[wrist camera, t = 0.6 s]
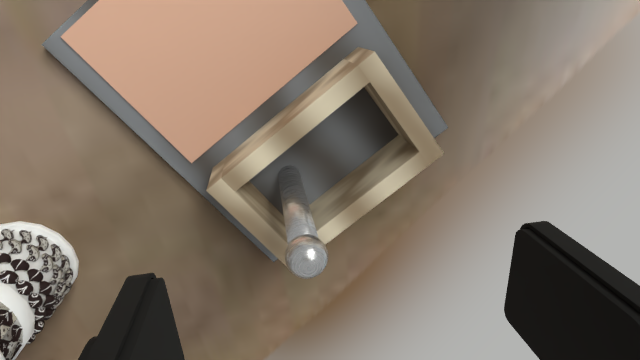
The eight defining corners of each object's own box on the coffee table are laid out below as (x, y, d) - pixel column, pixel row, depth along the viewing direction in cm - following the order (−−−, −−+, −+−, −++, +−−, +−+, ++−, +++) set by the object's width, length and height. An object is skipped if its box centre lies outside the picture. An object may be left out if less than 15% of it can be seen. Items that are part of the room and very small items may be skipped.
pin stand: (258, -157, 27) (261, -349, 13) (443, 124, 37) (559, 190, 23) (48, 43, 30) (-141, 66, 16) (273, 256, 40) (282, 388, 26)
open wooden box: (358, 46, 32) (374, 51, 28) (420, 136, 36) (444, 153, 32) (213, 167, 34) (206, 190, 30) (286, 240, 38) (290, 270, 34)
